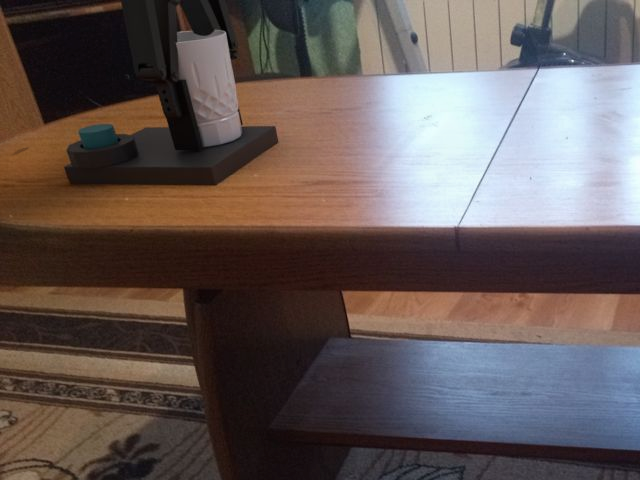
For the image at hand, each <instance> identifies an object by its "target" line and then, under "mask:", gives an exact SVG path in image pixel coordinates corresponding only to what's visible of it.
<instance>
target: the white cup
mask: <svg viewBox="0 0 640 480" xmlns="http://www.w3.org/2000/svg"><path fill="white" fill-rule="evenodd" d="M176 46H177V49H178V68H179V79H178V80H186V82H187V86H188V90H189V94H190V98H191V102H192V106H193V109H194V113H195V117H196V121H197V125H198V129H199V133H200V137H201V140H202V144H203V147H210V146H216V145H221V144H225V143H228V142H231V141H234V140H236V139H238V138H239V137H241V134H242V128H241V123H240V117H239V112H238V111H237V110H238V105H239V101H238V94H237V86H236V80H235V75H234V69H233V63H232V60H231V58H230V52H229V47H228V41H227V35H226V32H225V31H223V30H214V32H213V33H212V34H210V35H208V36H200V35H197V34H194V33H193V31H192V30H185V31H177V42H176ZM165 67H166V64H165Z"/></svg>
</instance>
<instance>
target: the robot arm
mask: <svg viewBox="0 0 640 480" xmlns="http://www.w3.org/2000/svg"><path fill="white" fill-rule="evenodd" d="M120 4H121V10H122V13H123V19H124V24H125V29H126V34H127V39H128V40H127V41H128V45H129V50H130V54H131V60H132V65H133V70H134V74H135V77H136V79H138V80H141V81H143V83H146V84H147V83H148V84H149V83H150V84H151V83H153V84H154V86H155V88H156V92H157V95H158V98H159V102H160V105H161V109H162V113H163V115H164V117H165V119H166V123H167V125H168V126H167V127H169V130H170V133H171V137H172V141H173V144H174V148H175V150H200V149H202V148H203V144H202V140H201V137H200V133H199V129H198V125H197V121H196V117H195V113H194V109H193V106H192V102H191V98H190V94H189V90H188V86H187V82H186V80H178V79H179V68H178V49H177V46H176V42H177V32H178V25H177V23H178V21H177V6H180V8H181V10H182V12H183V15H184V16H185V18H186V21H187V23H188V24H189V27H190V28H191V31H193V33H194V34H197V35H200V36H208V35H210V34H212V33H213V32H214V30H223V31H225V32H226V35H227V41H228V47H229V52H230V58H231V61H236V60H237V59H238V58H239V54H238V53H239V52H238V47H239V45H238V40H237V36H236V33H235V30H234V26H233V23H232V20H231V16H230V13H229V10H228V6H227V3H226V0H120ZM165 64H166V67H165ZM237 111H238V112H239V117H240V123H241V126H244V123H243V118H242V114H241V110H240V106H239V104H238V110H237Z"/></svg>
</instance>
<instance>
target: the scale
mask: <svg viewBox="0 0 640 480" xmlns="http://www.w3.org/2000/svg"><path fill="white" fill-rule="evenodd" d="M241 128H242V134H241V137H239V138H238V139H236V140H234V141H231V142H228V143H225V144H221V145H216V146H210V147H203V148H202V149H200V150H175V148H174V144H173V141H172V137H171V133H170V130H169V126H165V127H164V126H157V127H155V126H152V127H151V126H149V127H148V126H147V127H144V128H142V129H139V130H137V131H135V132H133V133H131V134H128V133H116V136H117V139H118V143H115V144H113V145H109V146H105V147H99V148H84V147H83V144H82V141H81V139H80V140H77V141H75V142H73V143H70V144H69V145H68V146H67V147H66V153H67V156H68V158H69V161H70V163H68V164H67V165H64V166H63V169H64V172H65V174H66V178H67V181H68V182H69V185H102V186H103V185H104V186H105V185H107V186H109V185H112V186H114V185H115V186H116V185H117V186H120V185H121V186H123V185H124V186H131V185H132V186H217V185H218V184H220V183H221V182H223V181H224V180H226V179H228V178H229V177H230V176H232V175H233V174H234V173H236V172H238V171H239V170H240V169H242V168H243V167H245V166H246V165H248V164H249V163H251V162H252V161H254V160H255V159H257V158H258V157H259V156H261V155H263V154H264V153H266V152H267V151H269V150H270V149H271V148H273V147H274V146H275V145H277V144H279V137H278V132H277V128H276V125H251V126H249V125H248V126H247V125H242V126H241Z"/></svg>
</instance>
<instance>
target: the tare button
mask: <svg viewBox="0 0 640 480" xmlns="http://www.w3.org/2000/svg"><path fill="white" fill-rule="evenodd" d="M77 133H78V136H79V138H80V140H81V141H82V144H83V147H84V148H99V147H105V146H109V145H113V144H115V143H118V139H117V136H116V134H117V132H116V129H115V126H114V125H113V124H111V123H99V124H97V123H96V124H91V125H87V126H85V127H81V128H80V129H78V130H77Z"/></svg>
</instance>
